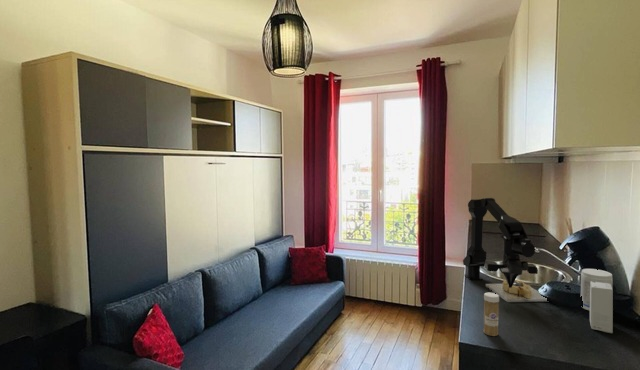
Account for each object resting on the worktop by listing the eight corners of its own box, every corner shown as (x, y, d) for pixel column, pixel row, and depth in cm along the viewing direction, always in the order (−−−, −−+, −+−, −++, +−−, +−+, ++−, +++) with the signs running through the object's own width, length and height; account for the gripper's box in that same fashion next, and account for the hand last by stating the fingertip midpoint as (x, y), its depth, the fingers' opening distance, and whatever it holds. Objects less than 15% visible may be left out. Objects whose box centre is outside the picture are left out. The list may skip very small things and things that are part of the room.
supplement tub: (583, 302, 139) (585, 266, 138) (614, 309, 132) (615, 272, 131) (576, 308, 133) (578, 271, 132) (608, 316, 126) (609, 277, 125)
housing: (485, 286, 158) (485, 276, 158) (523, 285, 158) (524, 276, 158) (507, 302, 140) (507, 291, 140) (550, 301, 140) (551, 290, 140)
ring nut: (498, 286, 154) (498, 279, 154) (520, 285, 154) (520, 279, 154) (517, 298, 140) (517, 291, 140) (541, 297, 140) (541, 290, 140)
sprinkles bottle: (488, 337, 112) (489, 297, 111) (480, 330, 117) (481, 292, 116) (501, 336, 113) (502, 296, 112) (493, 329, 117) (494, 291, 116)
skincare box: (612, 334, 113) (614, 290, 112) (589, 329, 117) (591, 286, 116) (610, 324, 120) (611, 283, 119) (588, 319, 124) (589, 279, 123)
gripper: (491, 254, 136) (490, 292, 137) (543, 257, 132) (542, 296, 133) (484, 247, 147) (484, 283, 148) (533, 250, 142) (532, 286, 143)
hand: (510, 287), depth 143 cm, fingers closed
